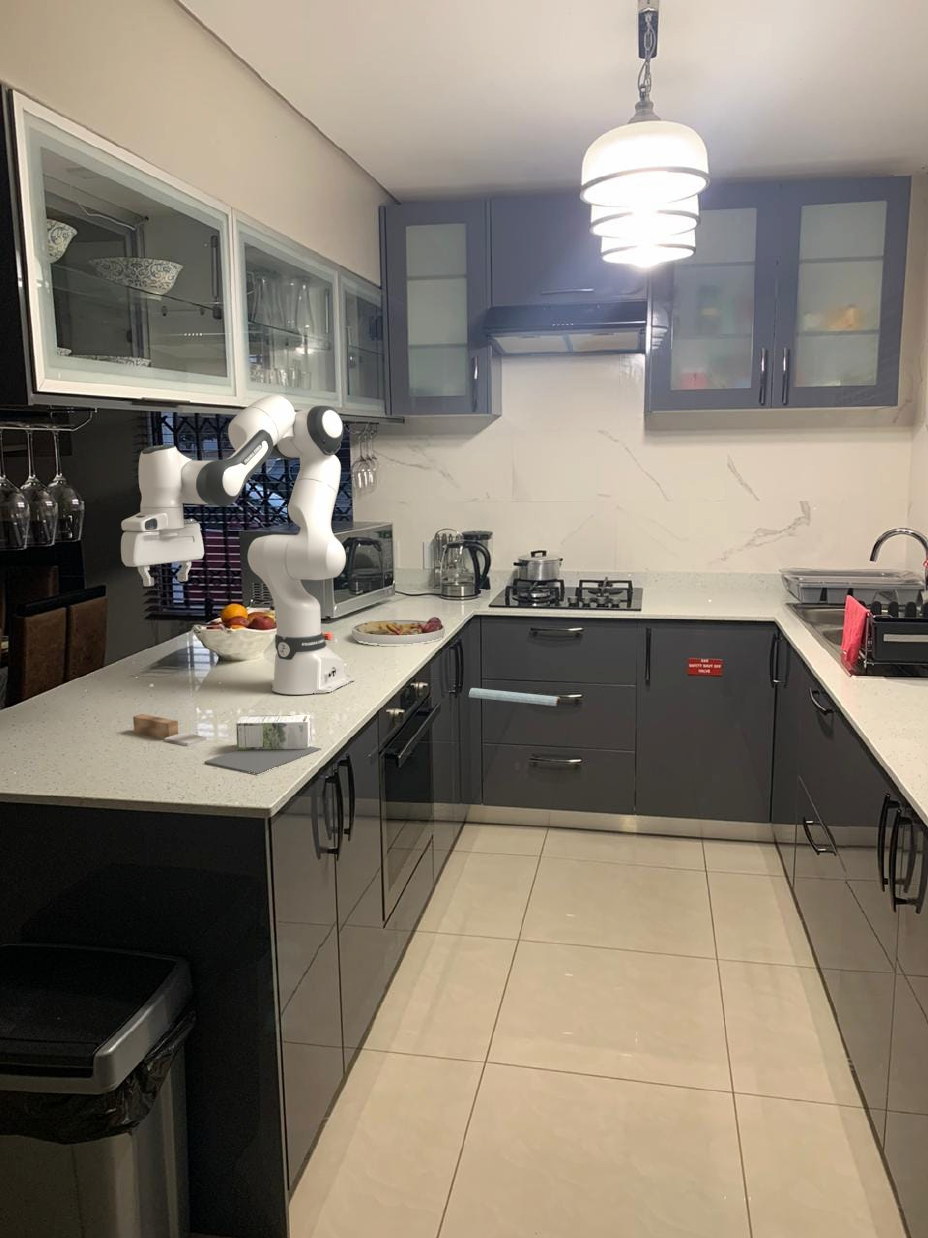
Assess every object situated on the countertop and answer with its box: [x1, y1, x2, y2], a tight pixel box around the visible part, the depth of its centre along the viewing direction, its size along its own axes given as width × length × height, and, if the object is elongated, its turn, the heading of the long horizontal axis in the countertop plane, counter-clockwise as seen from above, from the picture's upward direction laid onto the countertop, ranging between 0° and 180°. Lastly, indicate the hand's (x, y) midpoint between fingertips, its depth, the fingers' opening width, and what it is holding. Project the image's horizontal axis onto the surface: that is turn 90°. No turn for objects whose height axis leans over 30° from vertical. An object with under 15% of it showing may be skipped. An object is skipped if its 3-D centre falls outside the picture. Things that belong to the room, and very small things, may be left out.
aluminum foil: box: [468, 687, 562, 707], centre depth 226 cm, size 23×7×3 cm, turn 64°
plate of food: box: [351, 616, 446, 644], centre depth 308 cm, size 30×30×8 cm
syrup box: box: [235, 714, 313, 750], centre depth 193 cm, size 6×6×14 cm
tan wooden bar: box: [132, 713, 207, 747], centre depth 202 cm, size 18×5×4 cm, turn 58°
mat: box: [204, 745, 322, 775], centre depth 187 cm, size 18×14×1 cm
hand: (166, 583), depth 210 cm, fingers open, 8 cm apart
